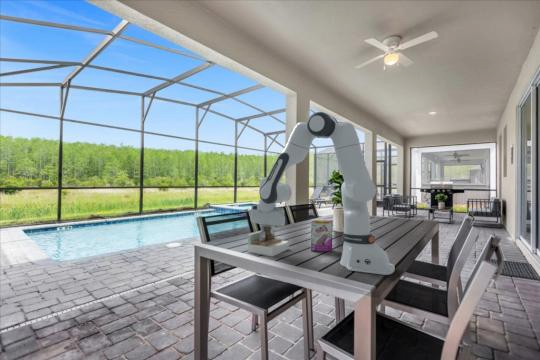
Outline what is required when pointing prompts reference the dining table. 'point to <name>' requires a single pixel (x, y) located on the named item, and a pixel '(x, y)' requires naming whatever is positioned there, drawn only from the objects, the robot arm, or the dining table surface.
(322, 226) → the candy bar box
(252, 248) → the white l-shaped block
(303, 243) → the dining table surface
